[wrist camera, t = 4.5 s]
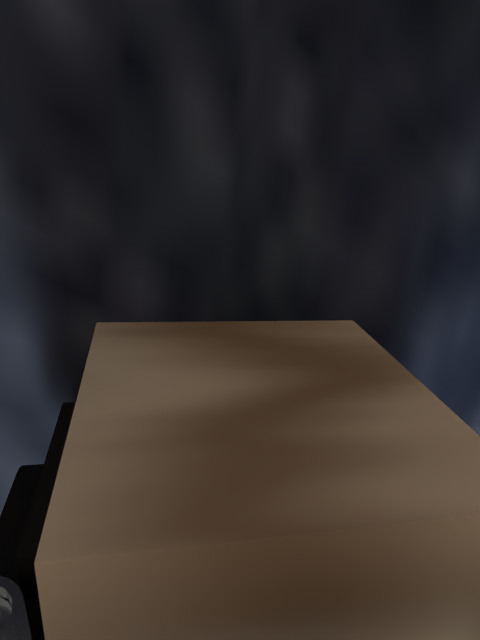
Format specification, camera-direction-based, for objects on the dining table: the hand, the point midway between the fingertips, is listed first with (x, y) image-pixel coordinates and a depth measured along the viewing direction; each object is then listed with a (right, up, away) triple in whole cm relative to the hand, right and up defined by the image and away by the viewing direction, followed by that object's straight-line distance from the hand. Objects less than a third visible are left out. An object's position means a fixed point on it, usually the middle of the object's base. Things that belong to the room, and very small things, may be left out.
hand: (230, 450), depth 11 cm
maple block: (0, 0, +1) cm, 1 cm away
